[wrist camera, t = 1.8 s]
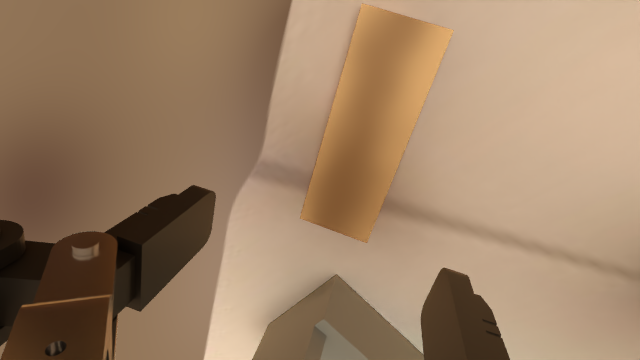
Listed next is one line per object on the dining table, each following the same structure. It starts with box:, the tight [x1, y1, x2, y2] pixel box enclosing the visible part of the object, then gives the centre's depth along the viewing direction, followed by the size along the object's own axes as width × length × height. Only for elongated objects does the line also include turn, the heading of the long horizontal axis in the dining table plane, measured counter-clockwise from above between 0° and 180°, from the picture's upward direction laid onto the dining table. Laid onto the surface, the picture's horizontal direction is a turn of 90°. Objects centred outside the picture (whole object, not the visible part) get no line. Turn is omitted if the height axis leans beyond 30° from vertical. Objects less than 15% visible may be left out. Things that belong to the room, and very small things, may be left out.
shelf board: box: [300, 3, 454, 243], centre depth 22 cm, size 5×14×3 cm, turn 164°
